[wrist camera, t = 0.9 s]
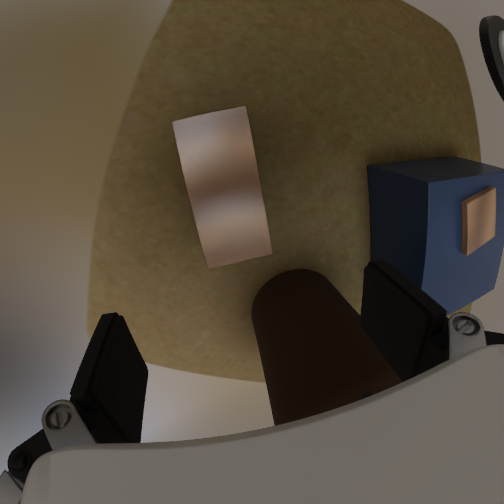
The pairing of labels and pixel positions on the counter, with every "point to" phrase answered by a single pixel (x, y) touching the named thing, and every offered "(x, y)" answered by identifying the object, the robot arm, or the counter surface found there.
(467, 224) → the coaster
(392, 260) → the blue drawer box
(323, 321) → the olive oil
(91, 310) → the counter surface
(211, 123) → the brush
